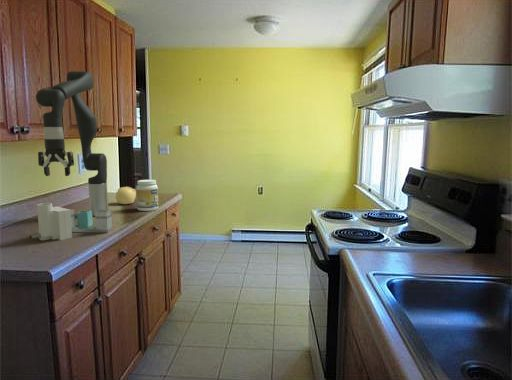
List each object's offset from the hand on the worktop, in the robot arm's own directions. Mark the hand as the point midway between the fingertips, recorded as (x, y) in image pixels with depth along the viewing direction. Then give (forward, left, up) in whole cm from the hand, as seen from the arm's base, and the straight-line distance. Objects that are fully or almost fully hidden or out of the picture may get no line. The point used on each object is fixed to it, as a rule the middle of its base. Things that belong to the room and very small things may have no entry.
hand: (57, 175), depth 165 cm
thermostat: (+7, -2, -26) cm, 27 cm away
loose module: (-16, +3, -26) cm, 30 cm away
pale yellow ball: (-73, +2, -26) cm, 77 cm away
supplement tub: (-56, +21, -26) cm, 65 cm away
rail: (-6, +8, -26) cm, 28 cm away
